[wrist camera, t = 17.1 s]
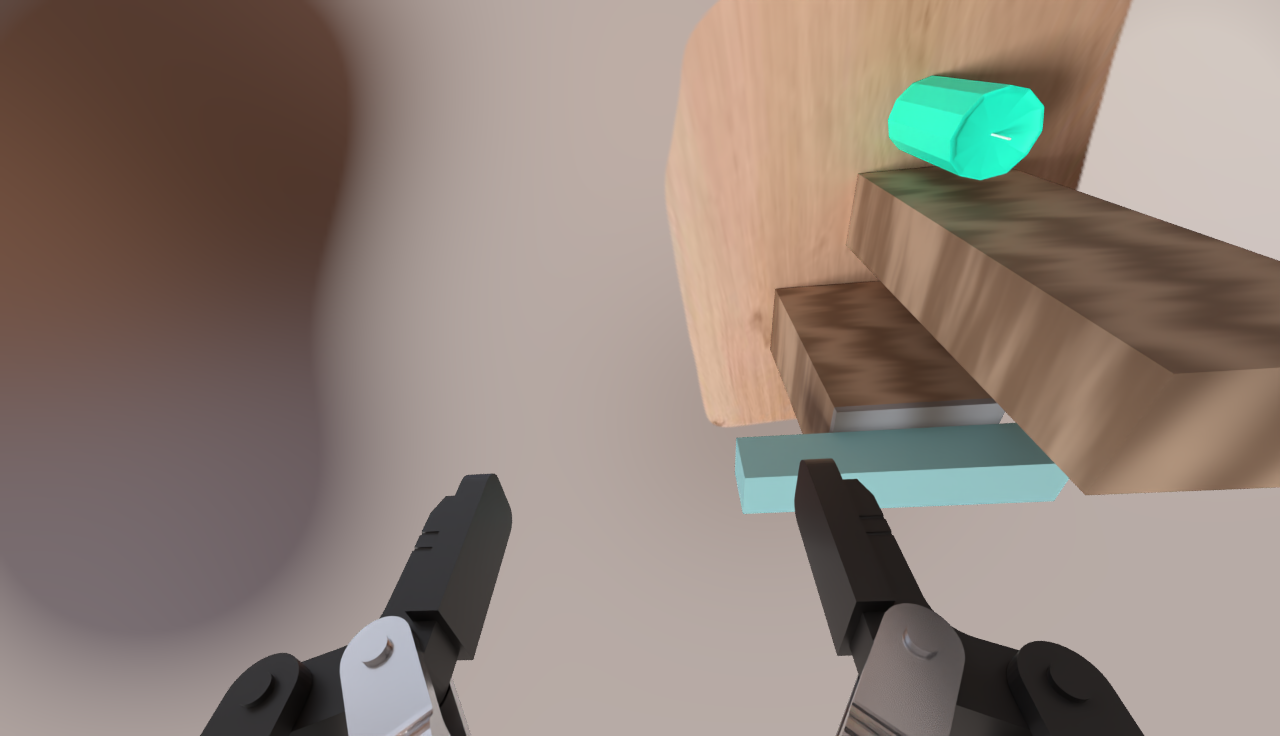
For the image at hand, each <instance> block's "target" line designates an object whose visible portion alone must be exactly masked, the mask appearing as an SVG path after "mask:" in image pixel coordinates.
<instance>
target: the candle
mask: <svg viewBox="0 0 1280 736" xmlns="http://www.w3.org/2000/svg"><path fill="white" fill-rule="evenodd" d="M1043 118H1044V105H1043V104H1042V103H1041V102H1040V100H1039V99H1038V98H1037V97H1036V96H1035V94H1034V93H1033V92H1032V91H1031V89H1028V88H1023V87H1019V86H1014V85H1008V84H999V83H991V82H983V81H974V80H966V79H958V78H950V77H941V76H933V75H932V76H930V77H927V78H925V79H922V80H920V81H917V82H914V83H912V84H911V85H910V86H909V87H908V88H907V89H906V90H905V91H904V92H903V93H902V94H901V95H900V96H899V97H898V98H897V100H896V102H895V104H894V107H893V109H892V111H891V114H890V116H889V118H888V128H889V138H890V139H891V140H892V142H893V143H894V144H895V145H896V147H897V148H898V149H899V150H901V151H904V152H906V153H908V154H911V155H913V156H915V157H917V158H920V159H922V160H924V161H927V162H929V163H931V164H933V165H936V166H938V167H940V168H943V169H945V170H947V171H949V172H952V173H954V174H956V175H959V176H962V177H967V178H972V179H977V180H984V179H987V178H991V177H995V176H998V175H1002V174H1006V173H1007V172H1009V171H1010V170H1011V169H1012V168H1013V167H1014V166H1015V165H1016V164H1017V163H1018V162H1020V161H1021V160H1022V159H1023V158H1024V157H1025V156H1026V155H1027V154H1028V153H1029V151H1030V149H1031V148H1032V146H1033V145H1034V143H1035V142H1036V140H1037V138H1038V137H1039V135H1040V134H1041V132H1042V130H1043Z"/></svg>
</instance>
